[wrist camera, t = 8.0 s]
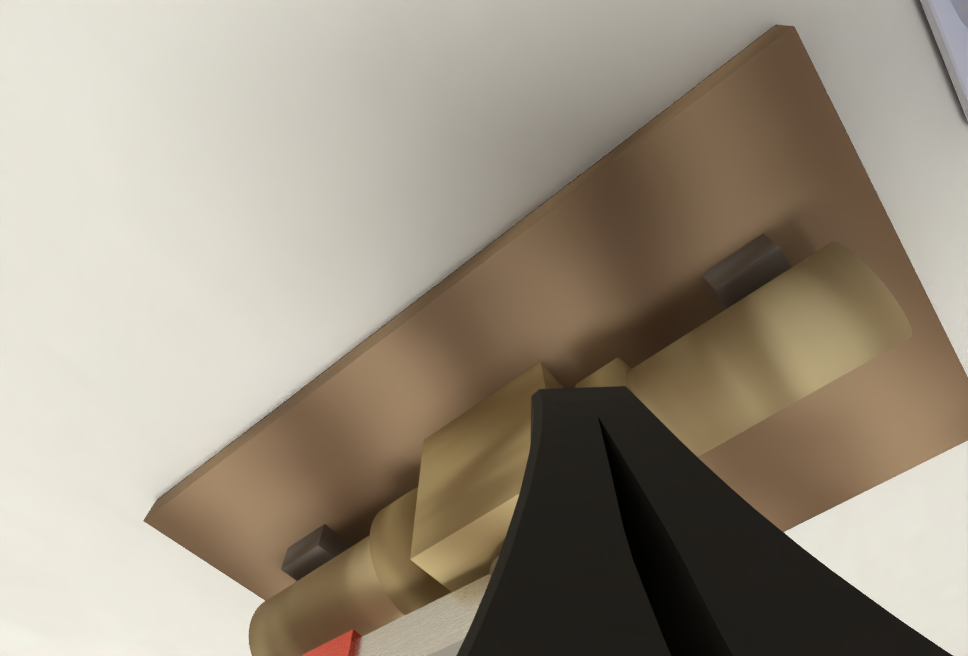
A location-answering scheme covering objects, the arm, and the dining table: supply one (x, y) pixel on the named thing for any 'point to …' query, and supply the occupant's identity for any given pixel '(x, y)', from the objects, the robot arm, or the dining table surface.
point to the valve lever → (417, 628)
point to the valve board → (600, 362)
